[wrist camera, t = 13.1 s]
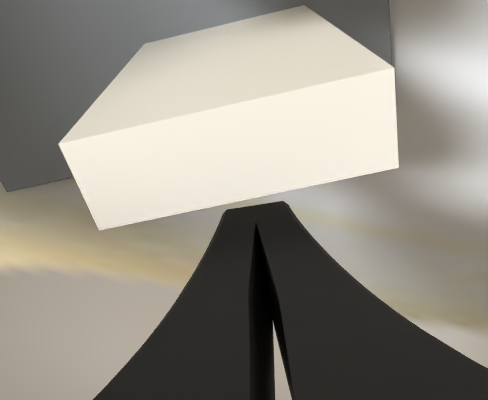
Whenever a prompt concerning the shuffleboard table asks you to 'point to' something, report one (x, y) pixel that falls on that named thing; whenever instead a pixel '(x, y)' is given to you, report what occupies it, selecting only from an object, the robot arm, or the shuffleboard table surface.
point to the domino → (233, 119)
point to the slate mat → (113, 61)
